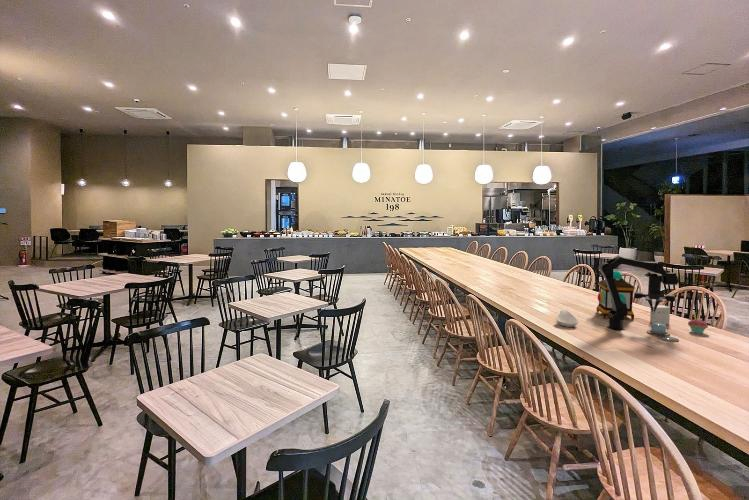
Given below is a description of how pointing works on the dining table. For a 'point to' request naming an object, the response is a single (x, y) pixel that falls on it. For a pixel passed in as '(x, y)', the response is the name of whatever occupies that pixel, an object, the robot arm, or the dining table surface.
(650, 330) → the holder ring
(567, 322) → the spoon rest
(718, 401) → the dining table surface
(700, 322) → the cupcake
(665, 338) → the coaster
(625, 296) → the decorative lantern
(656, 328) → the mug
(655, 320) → the small box
